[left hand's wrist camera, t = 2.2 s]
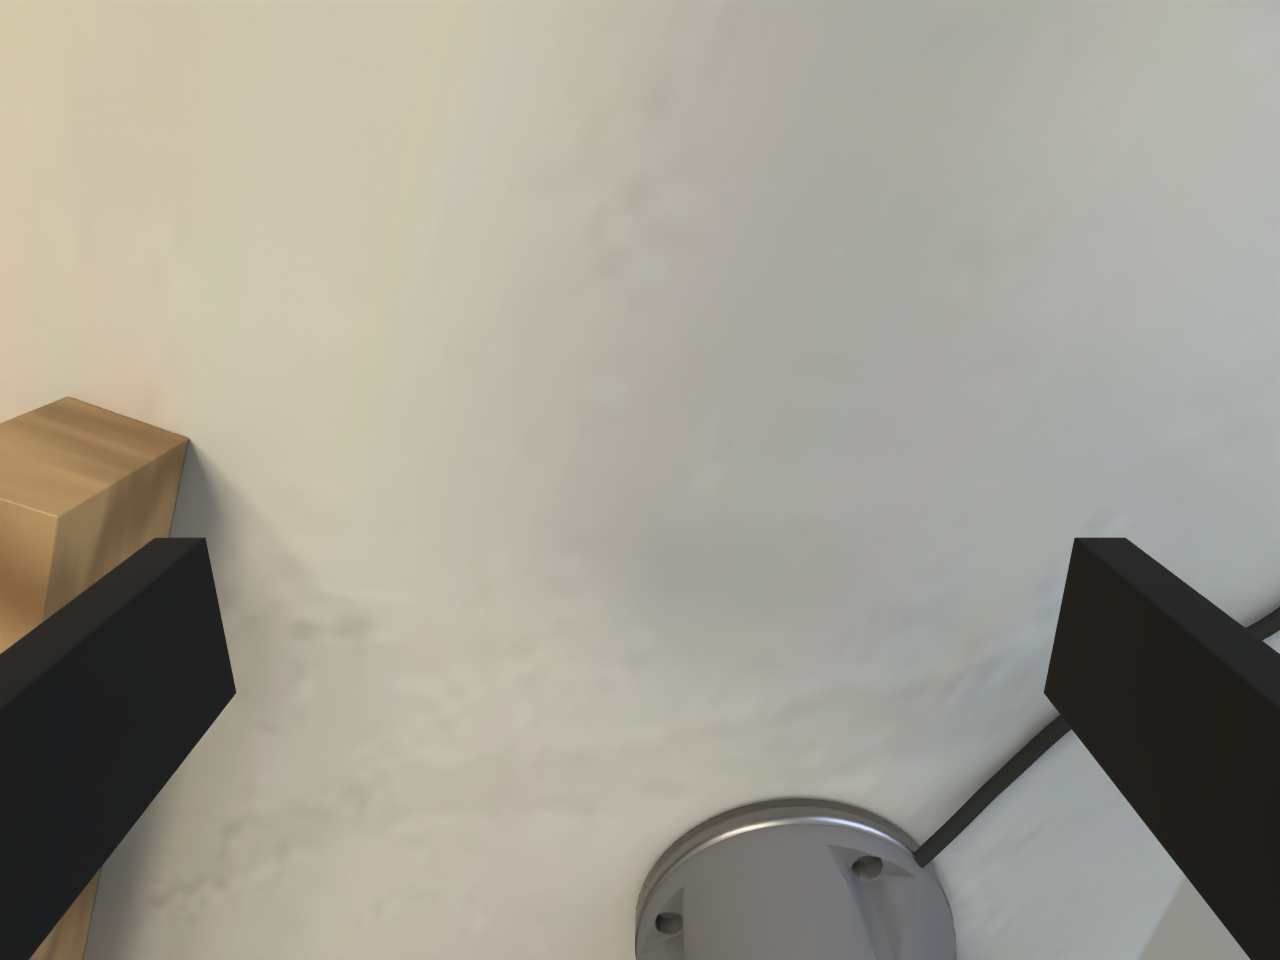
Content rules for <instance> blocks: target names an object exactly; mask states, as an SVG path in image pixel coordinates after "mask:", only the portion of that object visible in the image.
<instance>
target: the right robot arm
mask: <svg viewBox="0 0 1280 960" xmlns="http://www.w3.org/2000/svg"><path fill="white" fill-rule="evenodd" d="M1246 629H1247V630H1248V631H1250V632H1251V633H1252V634H1254V635H1255V636H1256V637H1258V638H1259V639H1260V640H1264V639H1266V638H1267V637H1269V636H1271V635H1273V634H1274V633H1276V632H1277V631H1279V630H1280V607H1279V608H1277V609H1276V610H1275V611H1273V612H1272V613H1270V614H1269V615H1267V616H1266V617H1264V618H1262V619H1261V620H1259V621H1258V622H1256V623H1254V624H1252V625H1250V626H1249V627H1247V628H1246ZM1071 729H1072V728H1071V727H1070V726H1069V725H1068V723H1067V722H1066V721H1065V719H1064V718H1063V717H1062V716H1061V715H1060V716H1058V717H1057V718H1056V719H1055V720H1053V721H1052V722H1051V723H1050V724H1049V725H1048V726H1047V727H1045V728H1044V729H1043V730H1042V731H1041V732H1040V733H1039V734H1038V735H1037V736H1035V737H1034V738H1033V739H1032V740H1031V741H1030V742H1029V743H1028V744H1027V745H1026V746H1025V747H1024V748H1023V749H1022V750H1021V751H1020V752H1018V753H1017V754H1016V755H1015V756H1014V757H1013V758H1012V759H1011V760H1010V761H1009V762H1008V763H1007V764H1006V765H1005V766H1004V767H1003V768H1001V769H1000V770H999V771H998V772H997V773H996V774H995V775H994V776H993V777H992V778H991V779H989V780H988V781H987V782H986V783H985V784H984V785H983V786H982V787H981V788H980V789H979V790H978V791H977V792H976V793H975V794H974V795H973V796H972V797H971V798H970V799H969V800H968V801H967V802H966V803H965V804H964V805H963V806H962V807H961V808H960V809H959V810H958V811H957V812H956V813H955V814H954V815H953V816H952V817H951V818H950V819H949V820H948V821H947V822H946V823H945V824H944V825H943V826H942V827H941V828H940V829H939V830H938V831H936V832H935V833H934V834H933V835H932V836H931V837H930V838H929V839H928V840H927V841H926V842H925V843H924V844H923V845H922V846H921V847H919V846H918V845H917V844H916V843H915V842H914V840H913V839H911V838H910V837H909V836H908V835H907V834H905V833H904V832H903V831H902V830H900V829H899V828H897V827H896V826H894V825H893V824H892V823H890V822H888V821H886V820H884V819H882V818H881V817H879V816H876V815H874V814H872V813H869V812H867V811H865V810H862V809H858V808H855V807H852V806H849V805H844V804H840V803H836V802H829V801H822V800H809V799H787V800H776V801H768V802H763V803H757V804H753V805H749V806H745V807H741V808H738V809H735V810H732V811H729V812H726V813H724V814H721V815H719V816H717V817H714V818H712V819H710V820H708V821H706V822H704V823H703V824H701V825H699V826H697V827H696V828H694V829H693V830H691V831H690V832H688V833H687V834H685V835H684V836H683V837H681V838H680V839H679V840H678V841H676V842H675V843H674V844H673V845H672V846H671V847H670V848H669V849H668V850H667V851H666V852H665V853H664V854H663V855H662V856H661V858H660V859H659V860H658V861H657V862H656V864H655V865H654V867H653V868H652V870H651V871H650V873H649V874H648V876H647V878H646V880H645V882H644V884H643V887H642V889H641V892H640V895H639V899H638V903H637V907H636V917H635V953H636V960H957V956H956V936H955V930H954V924H953V918H952V913H951V909H950V905H949V903H948V900H947V898H946V895H945V893H944V890H943V888H942V886H941V883H940V881H939V878H938V876H937V874H936V871H935V869H934V867H933V865H932V864H931V862H930V861H931V860H932V859H934V858H935V857H936V856H937V855H938V854H939V853H940V852H941V851H942V850H943V849H944V848H945V847H946V846H947V845H948V844H949V843H951V842H952V841H953V840H954V839H955V838H956V837H957V836H958V835H959V834H960V833H961V832H962V831H963V830H964V829H965V828H966V827H967V826H968V825H969V824H970V823H971V822H972V821H973V820H974V819H975V818H976V817H977V816H978V815H979V814H980V813H981V812H982V811H983V810H984V809H985V808H986V807H987V806H988V805H989V804H990V803H991V802H992V801H993V800H994V799H995V798H996V797H997V796H998V795H999V794H1000V793H1001V792H1003V791H1004V790H1005V789H1006V788H1007V787H1008V786H1009V785H1010V784H1011V783H1012V782H1014V781H1015V780H1016V779H1017V778H1018V777H1019V776H1020V775H1021V774H1022V773H1023V772H1024V771H1025V770H1027V769H1028V768H1029V767H1030V766H1031V765H1032V764H1033V763H1034V762H1035V761H1036V760H1037V759H1038V758H1039V757H1040V756H1041V755H1043V754H1044V753H1045V752H1046V751H1047V750H1048V749H1049V748H1050V747H1051V746H1052V745H1053V744H1055V743H1056V742H1057V741H1058V740H1059V739H1060V738H1061V737H1063V736H1064V735H1065V734H1066V733H1067V732H1069V731H1070V730H1071Z"/></svg>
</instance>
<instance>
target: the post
mask: <svg viewBox="0 0 1280 960" xmlns="http://www.w3.org/2000/svg"><path fill="white" fill-rule="evenodd" d="M187 444H188V438H186V437H183V436H180V435H177V434H174V433H171V432H168V431H165V430H162V429H159V428H157V427H154V426H151V425H148V424H145V423H142V422H139V421H136V420H133V419H130V418H127V417H124V416H122V415H119V414H116V413H113V412H110V411H107V410H104V409H101V408H98V407H95V406H92V405H90V404H87V403H84V402H81V401H78V400H75V399H72V398H69V397H65V398H63V399H60V400H58V401H55V402H53V403H50V404H48V405H45V406H43V407H40V408H38V409H35V410H33V411H30V412H28V413H25V414H23V415H20V416H18V417H16V418H13V419H11V420H8V421H6V422H3V423H1V424H0V654H1V653H2V652H4V651H5V650H6V649H8V648H9V647H10V646H12V645H13V644H14V643H16V642H17V641H18V640H20V639H21V638H22V637H24V636H25V635H26V634H28V633H29V632H30V631H32V630H33V629H34V628H36V627H37V626H38V625H40V624H41V623H42V622H44V621H45V620H46V619H48V618H49V617H50V616H51V615H53V614H54V613H55V612H57V611H58V610H59V609H61V608H62V607H63V606H65V605H66V604H67V603H69V602H70V601H71V600H73V599H74V598H75V597H77V596H78V595H79V594H81V593H82V592H83V591H85V590H86V589H87V588H89V587H90V586H91V585H93V584H94V583H95V582H97V581H98V580H99V579H101V578H102V577H103V576H105V575H106V574H107V573H109V572H110V571H111V570H113V569H114V568H115V567H117V566H118V565H119V564H121V563H122V562H123V561H124V560H126V559H127V558H128V557H130V556H131V555H132V554H134V553H135V552H136V551H138V550H139V549H140V548H142V547H143V546H144V545H146V544H147V543H148V542H150V541H151V540H152V539H154V538H168V537H169V532H170V527H171V522H172V517H173V512H174V508H175V503H176V498H177V493H178V488H179V483H180V478H181V473H182V468H183V463H184V458H185V454H186V449H187ZM100 871H101V868H100V869H99V870H98V872H97V873H96V874H95V875H94V877H93V878H92V879H91V881H90V882H89V883H88V884H87V886H86V887H85V888H84V890H83V891H82V892H81V893H80V895H79V896H78V897H77V899H76V900H75V901H74V903H73V904H72V905H71V906H70V908H69V909H68V910H67V912H66V913H65V914H64V915H63V917H62V918H61V919H60V921H59V922H58V923H57V924H56V926H55V927H54V928H53V930H52V931H51V932H50V933H49V935H48V936H47V937H46V939H45V940H44V941H43V942H42V944H41V945H40V946H39V948H38V949H37V950H36V952H35V953H34V954H33V955H32V957H31V958H30V959H29V960H83V955H84V950H85V945H86V940H87V935H88V930H89V925H90V920H91V915H92V910H93V906H94V901H95V896H96V891H97V886H98V881H99V876H100Z"/></svg>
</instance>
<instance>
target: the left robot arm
mask: <svg viewBox="0 0 1280 960" xmlns="http://www.w3.org/2000/svg"><path fill="white" fill-rule="evenodd" d="M235 694H236V689H235V684H234V679H233V674H232V669H231V664H230V659H229V654H228V649H227V644H226V639H225V634H224V629H223V624H222V619H221V614H220V609H219V604H218V599H217V594H216V589H215V584H214V579H213V574H212V569H211V564H210V559H209V554H208V549H207V543H206V538H154V539H152V540H151V541H150V542H148V543H147V544H146V545H144V546H143V547H142V548H140V549H139V550H138V551H136V552H135V553H134V554H132V555H131V556H130V557H128V558H127V559H126V560H124V561H123V562H122V563H121V564H119V565H118V566H117V567H115V568H114V569H113V570H111V571H110V572H109V573H107V574H106V575H105V576H103V577H102V578H101V579H99V580H98V581H97V582H95V583H94V584H93V585H91V586H90V587H89V588H87V589H86V590H85V591H83V592H82V593H81V594H79V595H78V596H77V597H75V598H74V599H73V600H71V601H70V602H69V603H67V604H66V605H65V606H63V607H62V608H61V609H59V610H58V611H57V612H55V613H54V614H53V615H51V616H50V617H49V618H48V619H46V620H45V621H44V622H42V623H41V624H40V625H38V626H37V627H36V628H34V629H33V630H32V631H30V632H29V633H28V634H26V635H25V636H24V637H22V638H21V639H20V640H18V641H17V642H16V643H14V644H13V645H12V646H10V647H9V648H8V649H6V650H5V651H4V652H2V653H1V654H0V960H29V959H30V958H31V957H32V955H33V954H34V953H35V952H36V950H37V949H38V948H39V946H40V945H41V944H42V942H43V941H44V940H45V939H46V937H47V936H48V935H49V933H50V932H51V931H52V930H53V928H54V927H55V926H56V924H57V923H58V922H59V921H60V919H61V918H62V917H63V915H64V914H65V913H66V912H67V910H68V909H69V908H70V906H71V905H72V904H73V903H74V901H75V900H76V899H77V897H78V896H79V895H80V893H81V892H82V891H83V890H84V888H85V887H86V886H87V884H88V883H89V882H90V881H91V879H92V878H93V877H94V875H95V874H96V873H97V872H98V870H99V869H100V868H101V866H102V865H103V864H104V863H105V861H106V860H107V859H108V857H109V856H110V855H111V854H112V852H113V851H114V850H115V848H116V847H117V846H118V845H119V843H120V842H121V841H122V839H123V838H124V837H125V835H126V834H127V833H128V832H129V830H130V829H131V828H132V826H133V825H134V824H135V823H136V821H137V820H138V819H139V817H140V816H141V815H142V814H143V812H144V811H145V810H146V808H147V807H148V806H149V805H150V803H151V802H152V801H153V799H154V798H155V797H156V796H157V794H158V793H159V792H160V790H161V789H162V788H163V786H164V785H165V784H166V783H167V781H168V780H169V779H170V777H171V776H172V775H173V774H174V772H175V771H176V770H177V768H178V767H179V766H180V765H181V763H182V762H183V761H184V759H185V758H186V757H187V756H188V754H189V753H190V752H191V750H192V749H193V748H194V747H195V745H196V744H197V743H198V741H199V740H200V739H201V737H202V736H203V735H204V734H205V732H206V731H207V730H208V728H209V727H210V726H211V725H212V723H213V722H214V721H215V719H216V718H217V717H218V716H219V714H220V713H221V712H222V710H223V709H224V708H225V707H226V705H227V704H228V703H229V701H230V700H231V699H232V698H233V696H234V695H235ZM1044 694H1045V695H1046V696H1047V698H1048V699H1049V700H1050V701H1051V703H1052V704H1053V705H1054V707H1055V708H1056V709H1057V710H1058V712H1059V713H1060V714H1061V716H1062V717H1063V718H1064V719H1065V721H1066V722H1067V723H1068V725H1069V726H1070V727H1071V728H1072V730H1073V731H1074V732H1075V734H1076V735H1077V736H1078V737H1079V739H1080V740H1081V741H1082V743H1083V744H1084V745H1085V747H1086V748H1087V749H1088V750H1089V752H1090V753H1091V754H1092V756H1093V757H1094V758H1095V759H1096V761H1097V762H1098V763H1099V765H1100V766H1101V767H1102V768H1103V770H1104V771H1105V772H1106V774H1107V775H1108V776H1109V777H1110V779H1111V780H1112V781H1113V783H1114V784H1115V785H1116V786H1117V788H1118V789H1119V790H1120V792H1121V793H1122V794H1123V796H1124V797H1125V798H1126V799H1127V801H1128V802H1129V803H1130V805H1131V806H1132V807H1133V808H1134V810H1135V811H1136V812H1137V814H1138V815H1139V816H1140V817H1141V819H1142V820H1143V821H1144V823H1145V824H1146V825H1147V826H1148V828H1149V829H1150V830H1151V832H1152V833H1153V834H1154V835H1155V837H1156V838H1157V839H1158V841H1159V842H1160V843H1161V845H1162V846H1163V847H1164V848H1165V850H1166V851H1167V852H1168V854H1169V855H1170V856H1171V857H1172V859H1173V860H1174V861H1175V863H1176V864H1177V865H1178V866H1179V868H1180V869H1181V870H1182V872H1183V873H1184V874H1185V875H1186V877H1187V878H1188V879H1189V881H1190V882H1191V883H1192V884H1193V886H1194V887H1195V888H1196V890H1197V891H1198V892H1199V894H1200V895H1201V896H1202V897H1203V899H1204V900H1205V901H1206V903H1207V904H1208V905H1209V906H1210V908H1211V909H1212V910H1213V912H1214V913H1215V914H1216V915H1217V917H1218V918H1219V919H1220V921H1221V922H1222V923H1223V924H1224V926H1225V927H1226V928H1227V929H1228V931H1229V932H1230V933H1231V935H1232V936H1233V937H1234V939H1235V940H1236V941H1237V942H1238V944H1239V945H1240V946H1241V948H1242V949H1243V950H1244V952H1245V953H1246V954H1247V955H1248V957H1249V958H1250V959H1251V960H1280V654H1279V653H1278V652H1276V651H1275V650H1274V649H1272V648H1271V647H1270V646H1268V645H1267V644H1266V643H1264V642H1263V641H1262V640H1260V639H1259V638H1258V637H1256V636H1255V635H1254V634H1252V633H1251V632H1250V631H1248V630H1247V629H1246V628H1244V627H1243V626H1242V625H1240V624H1239V623H1238V622H1236V621H1235V620H1234V619H1232V618H1231V617H1230V616H1229V615H1227V614H1226V613H1225V612H1223V611H1222V610H1221V609H1219V608H1218V607H1217V606H1215V605H1214V604H1213V603H1211V602H1210V601H1209V600H1207V599H1206V598H1205V597H1203V596H1202V595H1201V594H1199V593H1198V592H1197V591H1195V590H1194V589H1193V588H1191V587H1190V586H1189V585H1187V584H1186V583H1185V582H1183V581H1182V580H1181V579H1179V578H1178V577H1177V576H1175V575H1174V574H1173V573H1171V572H1170V571H1169V570H1167V569H1166V568H1165V567H1163V566H1162V565H1161V564H1159V563H1158V562H1157V561H1156V560H1154V559H1153V558H1152V557H1150V556H1149V555H1148V554H1146V553H1145V552H1144V551H1142V550H1141V549H1140V548H1138V547H1137V546H1136V545H1134V544H1133V543H1132V542H1130V541H1129V540H1128V539H1126V538H1074V543H1073V549H1072V554H1071V559H1070V564H1069V569H1068V574H1067V579H1066V584H1065V589H1064V594H1063V599H1062V604H1061V609H1060V614H1059V619H1058V624H1057V629H1056V634H1055V639H1054V644H1053V649H1052V654H1051V659H1050V664H1049V669H1048V674H1047V679H1046V684H1045V689H1044Z"/></svg>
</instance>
